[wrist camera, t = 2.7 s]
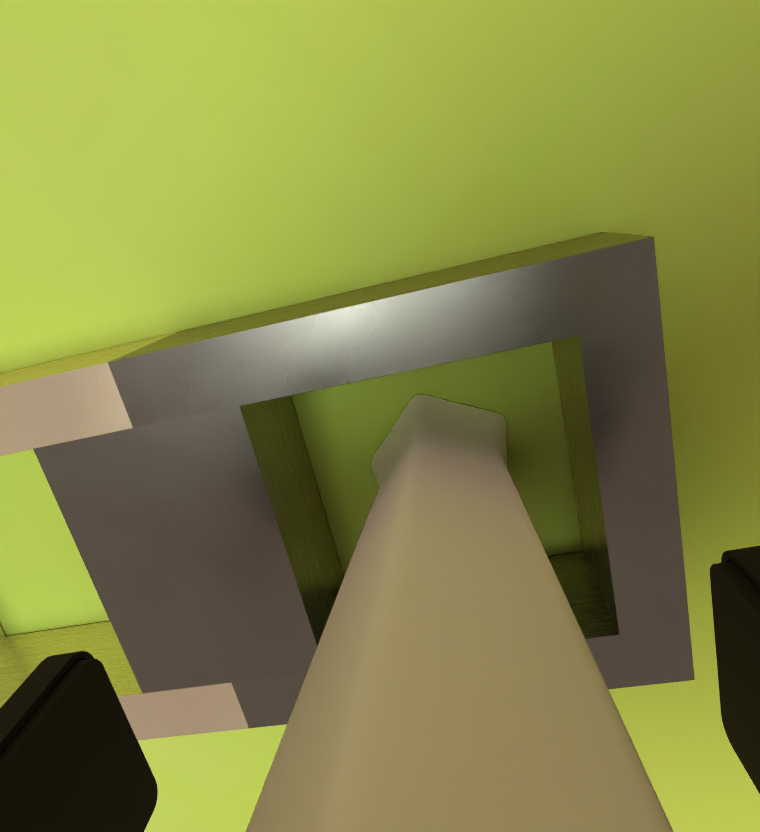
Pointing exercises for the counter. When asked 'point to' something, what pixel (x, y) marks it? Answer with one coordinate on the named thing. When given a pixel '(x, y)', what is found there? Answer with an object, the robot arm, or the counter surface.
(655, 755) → the counter surface
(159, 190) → the counter surface
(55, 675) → the robot arm
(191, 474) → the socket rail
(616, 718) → the perfume bottle
